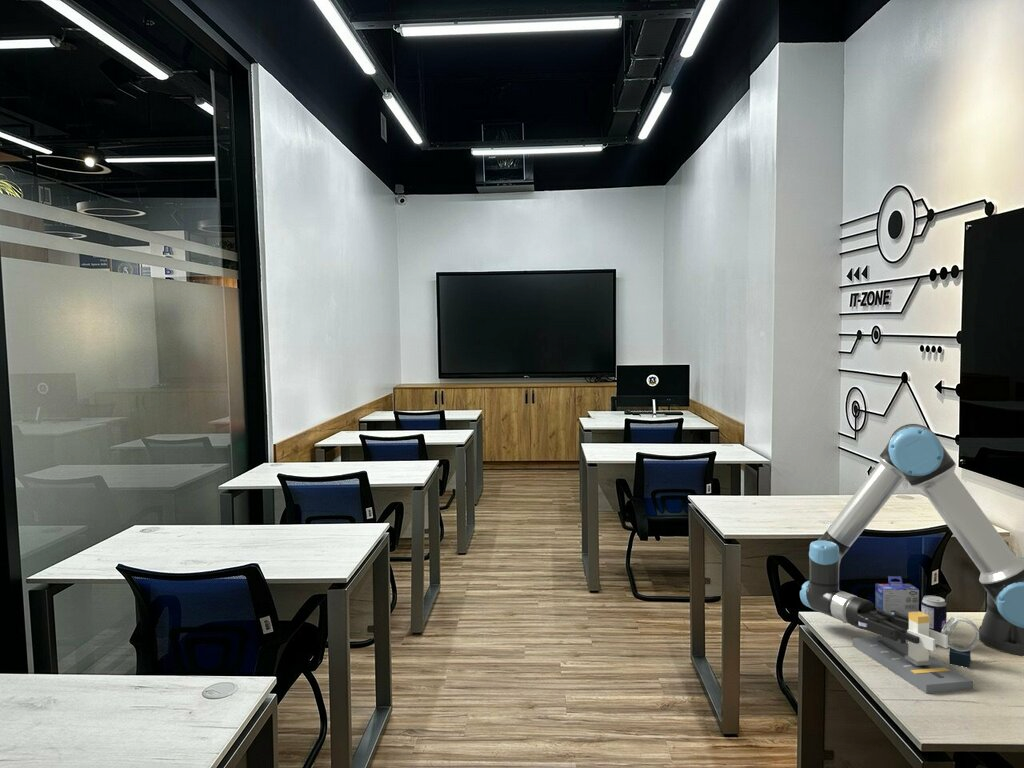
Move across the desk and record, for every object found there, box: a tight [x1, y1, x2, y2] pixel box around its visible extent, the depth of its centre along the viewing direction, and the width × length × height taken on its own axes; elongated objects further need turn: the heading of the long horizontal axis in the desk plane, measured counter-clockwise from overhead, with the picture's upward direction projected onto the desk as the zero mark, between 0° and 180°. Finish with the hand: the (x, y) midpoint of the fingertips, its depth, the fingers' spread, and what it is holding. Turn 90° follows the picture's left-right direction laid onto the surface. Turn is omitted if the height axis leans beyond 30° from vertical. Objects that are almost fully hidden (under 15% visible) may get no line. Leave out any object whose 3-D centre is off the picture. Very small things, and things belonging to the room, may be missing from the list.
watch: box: [941, 616, 980, 669], centre depth 171 cm, size 6×8×11 cm
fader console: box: [852, 635, 975, 694], centre depth 169 cm, size 12×26×2 cm, turn 9°
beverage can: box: [920, 594, 948, 648], centre depth 182 cm, size 6×6×12 cm
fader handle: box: [905, 610, 932, 666], centre depth 166 cm, size 4×4×12 cm
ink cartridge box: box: [874, 575, 920, 617], centre depth 192 cm, size 10×6×14 cm, turn 87°
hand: (940, 643), depth 161 cm, fingers open, 4 cm apart
